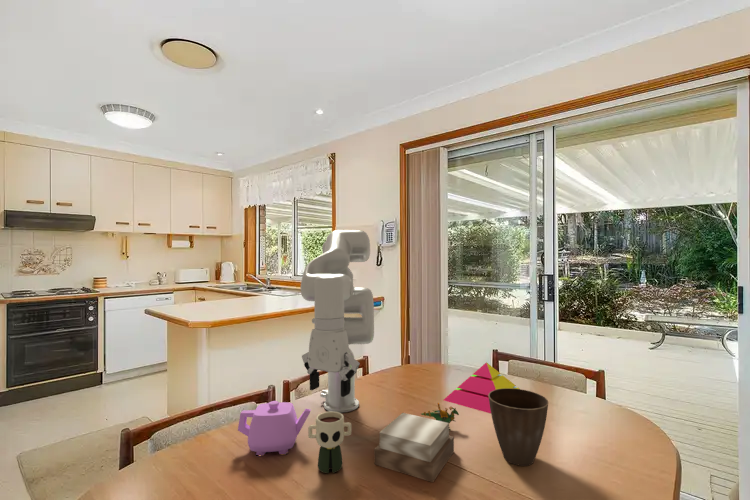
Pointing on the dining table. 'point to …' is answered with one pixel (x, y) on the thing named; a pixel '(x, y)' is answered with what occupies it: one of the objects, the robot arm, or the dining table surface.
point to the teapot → (272, 427)
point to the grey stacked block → (415, 446)
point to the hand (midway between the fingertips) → (329, 391)
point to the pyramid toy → (479, 388)
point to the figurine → (442, 414)
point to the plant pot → (518, 423)
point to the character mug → (329, 439)
